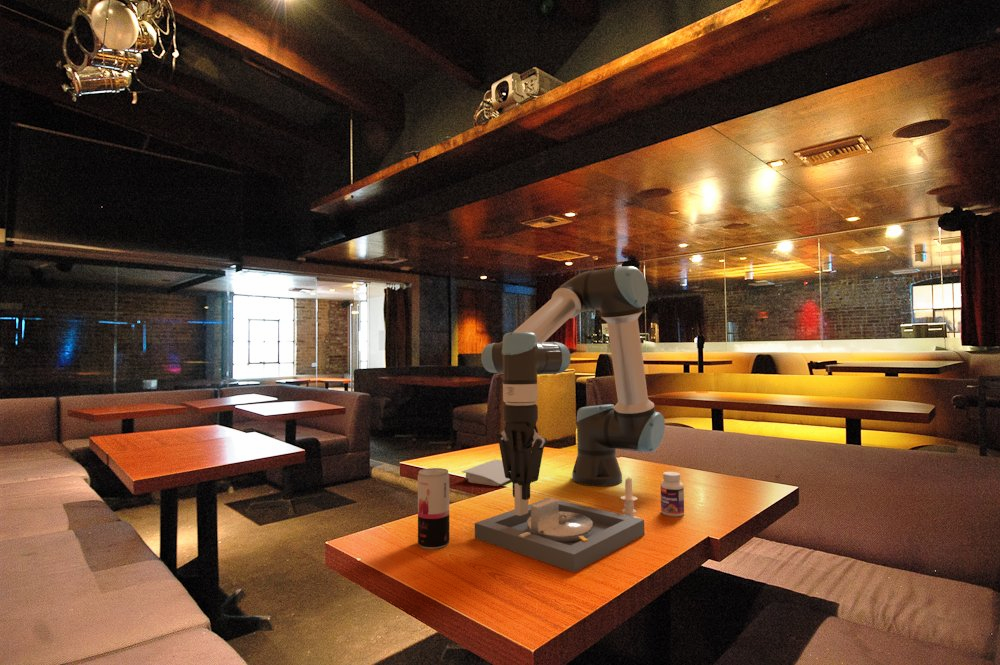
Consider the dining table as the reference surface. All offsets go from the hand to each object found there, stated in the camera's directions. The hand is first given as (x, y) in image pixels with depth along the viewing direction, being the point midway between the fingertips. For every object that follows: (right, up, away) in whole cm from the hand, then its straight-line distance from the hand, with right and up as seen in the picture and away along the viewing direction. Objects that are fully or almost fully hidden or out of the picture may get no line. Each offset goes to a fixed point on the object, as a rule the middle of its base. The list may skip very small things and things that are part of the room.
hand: (521, 513), depth 110 cm
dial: (+8, -4, 0) cm, 9 cm away
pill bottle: (+38, -6, +15) cm, 41 cm away
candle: (+26, -6, +10) cm, 28 cm away
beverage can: (-18, -5, -3) cm, 20 cm away
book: (-6, -8, +54) cm, 55 cm away
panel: (+8, -5, +1) cm, 10 cm away
